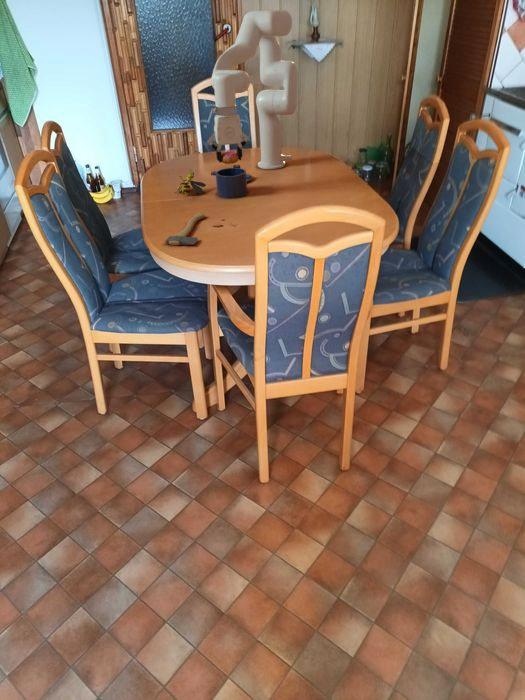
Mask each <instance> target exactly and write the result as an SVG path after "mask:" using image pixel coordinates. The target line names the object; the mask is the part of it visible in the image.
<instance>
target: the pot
mask: <svg viewBox="0 0 525 700" xmlns="http://www.w3.org/2000/svg"><path fill="white" fill-rule="evenodd" d="M246 174H247V171H246V169H245V168H241V167H240V168H233V167H226V168H220V169H219V170H213V171H211V172H210V175H211V176H214V177H215V181H216V192H217V196H218V197H220V198H222V199H238V198H243V197H245V196H246V195H248V182H247V179H251V178H252V179H253V175H252V174H249V175H246Z"/></svg>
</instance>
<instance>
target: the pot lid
mask: <svg viewBox="0 0 525 700" xmlns="http://www.w3.org/2000/svg"><path fill="white" fill-rule="evenodd" d="M232 168H241V165H240V164H233V166H232ZM246 175H250V174H249V173H246ZM252 180H253V177H252V178H251V179H247V183H248V182H250V181H252Z"/></svg>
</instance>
